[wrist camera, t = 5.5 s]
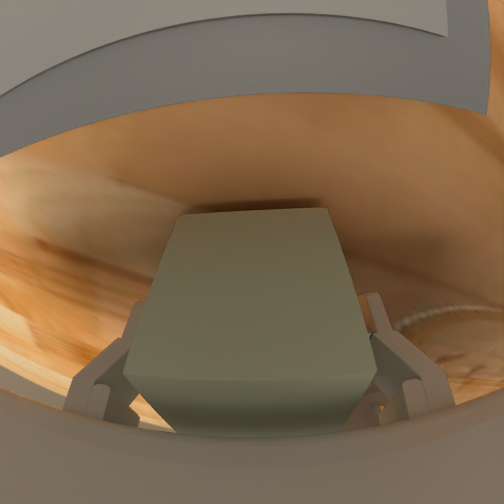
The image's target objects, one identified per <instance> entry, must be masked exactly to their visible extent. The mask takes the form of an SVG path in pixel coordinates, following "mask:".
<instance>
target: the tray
mask: <svg viewBox="0 0 504 504" xmlns="http://www.w3.org/2000/svg"><path fill="white" fill-rule="evenodd" d="M489 84H490V23H489V10H488V1H487V0H0V157H3V156H5V155H7V154H9V153H11V152H14V151H16V150H18V149H21V148H23V147H25V146H28V145H30V144H33V143H35V142H38V141H41V140H43V139H46V138H49V137H51V136H54V135H57V134H60V133H63V132H66V131H69V130H72V129H75V128H78V127H81V126H84V125H88V124H91V123H94V122H98V121H101V120H105V119H109V118H112V117H116V116H120V115H124V114H128V113H133V112H137V111H142V110H146V109H151V108H156V107H161V106H166V105H172V104H178V103H184V102H190V101H197V100H204V99H212V98H220V97H230V96H240V95H253V94H270V93H347V94H363V95H375V96H386V97H395V98H403V99H410V100H417V101H423V102H429V103H435V104H441V105H446V106H451V107H456V108H460V109H465V110H469V111H473V112H477V113H481V114H485V115H487V107H488V97H489Z"/></svg>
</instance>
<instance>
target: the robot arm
mask: <svg viewBox="0 0 504 504" xmlns="http://www.w3.org/2000/svg"><path fill="white" fill-rule="evenodd" d="M357 298H358V301H359V304H360V308H361V311H362V315H363V318H364V322H365V325H366V329H367V332H368V336H369V340H370V344H371V348H372V351H373V355H374V359H375V363H376V367H377V372H376V373H375V375H374V377H373V379H372V381H373V382H374V383H375V384H376V385H377V386H378V387H379V389H380V390H381V391H382V392H383V393H384V394H385V396H386V397H387V398H388V399H389V400H390V401H389V402H388V404H387V405H386V406H385V407H384V409H383V410H382V411H381V412H380V414H379V419H380V425H378V426H373V427H367V428H361V429H355V430H348V431H341V432H333V433H324V434H314V435H302V436H285V437H220V436H204V435H191V434H181V433H172V432H164V431H157V430H150V429H144V428H138V425H139V419H140V417H139V416H138V414H137V413H136V412H135V411H134V410H132V409H131V408H130V407H129V405H130V404H131V403H132V401H133V400H134V399H135V398H136V397H137V395H138V394H139V392H138V391H137V390H136V389H135V388H134V386H133V385H132V384H131V383H130V382H129V380H128V379H127V378H126V377H125V376H124V374H123V370H124V366H125V363H126V360H127V356H128V353H129V350H130V347H131V344H132V340H133V337H134V334H135V331H136V328H137V325H138V322H139V319H140V316H141V313H142V310H143V307H144V304H145V302H146V301H136V302H135V303H134V305H133V308H132V310H131V313H130V316H129V318H128V321H127V324H126V327H125V329H124V332H123V335H122V338H117V339H116V340H115V341H114V342H112V343H111V344H110V345H109V346H108V347H107V348H106V349H105V350H103V351H102V352H101V353H100V354H99V355H98V356H97V357H96V358H94V359H93V360H92V361H91V362H90V363H89V364H88V365H87V366H85V367H84V368H83V369H82V370H81V371H80V372H79V373H78V374H77V375H75V376H74V377H73V380H72V383H71V385H70V388H69V391H68V394H67V397H66V400H65V403H64V406H63V409H59V408H56V407H53V406H50V405H47V404H44V403H41V402H38V401H36V400H33V399H30V398H28V397H25V396H22V395H20V394H17V393H15V392H12V391H10V390H7V389H5V388H3V387H1V386H0V504H504V387H502V388H500V389H498V390H495V391H493V392H490V393H488V394H485V395H483V396H480V397H478V398H475V399H472V400H470V401H467V402H464V403H461V404H458V405H455V402H454V398H453V395H452V392H451V389H450V385H449V382H448V379H447V376H446V373H445V371H444V370H443V369H442V368H441V367H440V366H438V365H437V364H436V363H435V362H434V361H433V360H431V359H430V358H429V357H428V356H427V355H426V354H424V353H423V352H422V351H421V350H420V349H419V348H417V347H416V346H415V345H414V344H413V343H411V342H410V341H409V340H408V339H407V338H406V337H404V336H403V335H402V334H401V333H400V332H398V331H397V330H392V327H391V324H390V321H389V318H388V316H387V313H386V310H385V307H384V305H383V302H382V299H381V297H380V294H379V293H378V292H374V293H364V294H362V293H361V294H357Z"/></svg>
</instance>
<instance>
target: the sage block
mask: <svg viewBox="0 0 504 504" xmlns="http://www.w3.org/2000/svg"><path fill="white" fill-rule="evenodd" d="M376 372H377V367H376V363H375V359H374V355H373V351H372V348H371V344H370V340H369V336H368V332H367V329H366V325H365V322H364V318H363V315H362V311H361V308H360V304H359V301H358V298H357V294H356V291H355V288H354V285H353V282H352V278H351V275H350V272H349V269H348V266H347V263H346V260H345V257H344V254H343V251H342V248H341V245H340V242H339V240H338V237H337V234H336V231H335V228H334V226H333V223H332V220H331V217H330V215H329V212H328V209H327V207H325V208H294V209H270V210H250V211H232V212H216V213H201V214H187V215H179V217H178V219H177V221H176V224H175V226H174V228H173V231H172V233H171V236H170V238H169V241H168V243H167V246H166V248H165V251H164V253H163V256H162V258H161V261H160V264H159V266H158V269H157V271H156V274H155V277H154V279H153V282H152V285H151V288H150V290H149V293H148V296H147V299H146V302H145V304H144V307H143V310H142V313H141V316H140V319H139V322H138V325H137V328H136V331H135V334H134V337H133V340H132V344H131V347H130V350H129V353H128V356H127V360H126V363H125V366H124V370H123V374H124V376H125V377H126V378H127V379H128V380H129V382H130V383H131V384H132V385H133V386H134V388H135V389H136V390H137V391H138V392H139V393H140V394H141V396H142V397H143V398H144V399H145V400H146V401H147V402H148V403H149V404H150V405H151V407H152V408H153V409H154V410H155V411H156V412H157V413H158V414H159V415H160V416H161V417H162V418H163V419H164V420H165V421H166V422H167V423H168V424H169V425H170V426H171V427H172V428H173V429H174V430H175V431H176V432H177V433H181V434H191V435H204V436H220V437H285V436H302V435H314V434H324V433H333V432H340V431H341V429H342V428H343V426H344V425H345V423H346V422H347V420H348V419H349V417H350V416H351V414H352V413H353V411H354V409H355V408H356V406H357V404H358V403H359V401H360V400H361V398H362V396H363V395H364V393H365V391H366V389H367V388H368V386H369V384H370V382H371V381H372V379H373V377H374V375H375V373H376Z"/></svg>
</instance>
